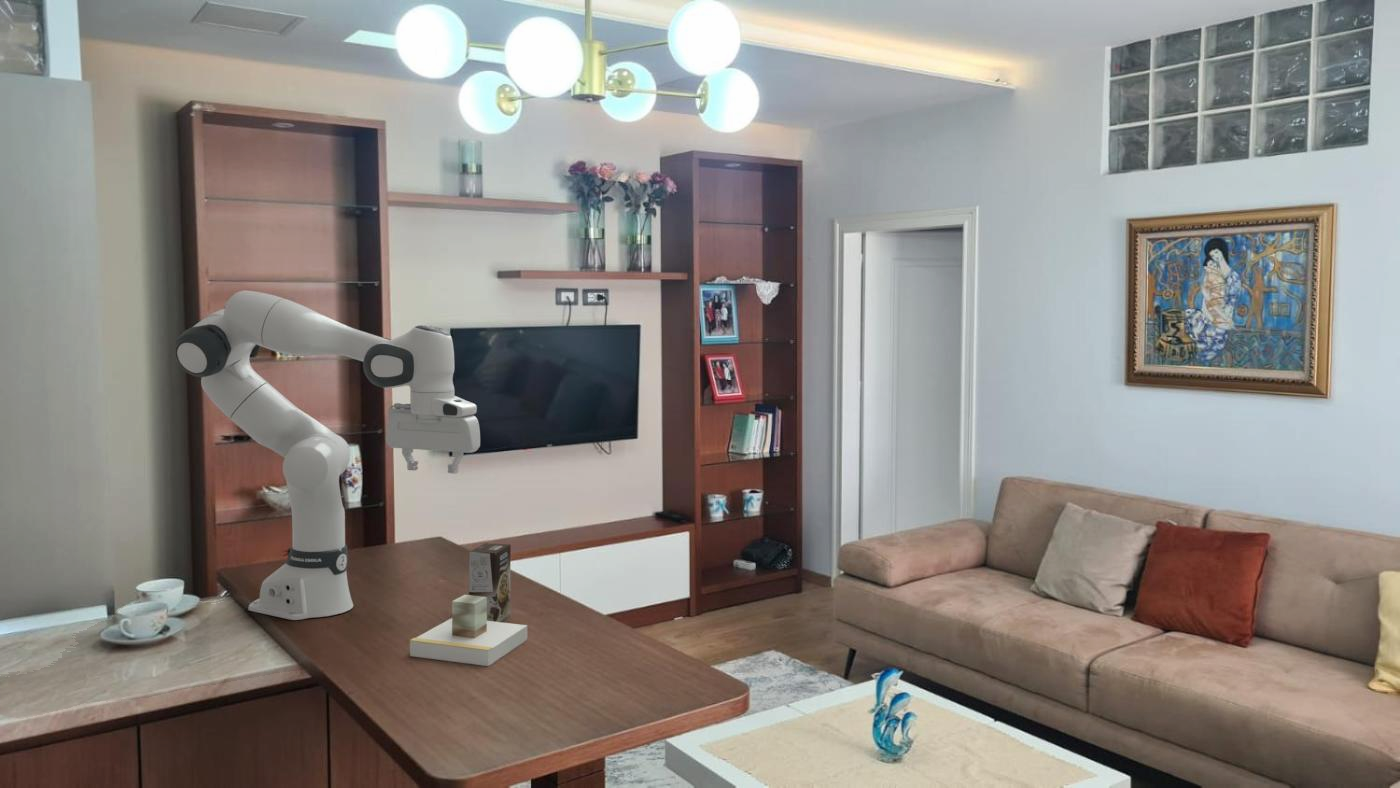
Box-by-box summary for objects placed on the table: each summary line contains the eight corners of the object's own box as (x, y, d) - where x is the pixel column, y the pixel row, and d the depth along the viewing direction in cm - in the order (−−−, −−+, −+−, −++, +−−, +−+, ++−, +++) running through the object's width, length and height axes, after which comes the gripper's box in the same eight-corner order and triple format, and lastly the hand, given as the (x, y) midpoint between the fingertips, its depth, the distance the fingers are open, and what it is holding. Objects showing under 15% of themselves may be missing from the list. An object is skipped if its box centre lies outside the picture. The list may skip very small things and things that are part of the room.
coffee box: (495, 627, 229) (496, 553, 228) (467, 624, 231) (467, 551, 229) (511, 615, 238) (511, 543, 237) (484, 612, 239) (484, 541, 238)
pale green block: (452, 635, 214) (452, 601, 213) (464, 628, 218) (464, 594, 218) (474, 638, 212) (474, 603, 212) (486, 630, 217) (486, 597, 216)
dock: (410, 656, 210) (409, 640, 210) (453, 630, 226) (453, 615, 226) (488, 666, 205) (488, 649, 205) (527, 639, 221) (527, 624, 221)
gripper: (379, 404, 220) (380, 470, 222) (469, 408, 215) (468, 477, 216) (396, 401, 226) (396, 466, 228) (484, 406, 221) (483, 472, 222)
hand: (432, 471), depth 222 cm, fingers open, 8 cm apart
